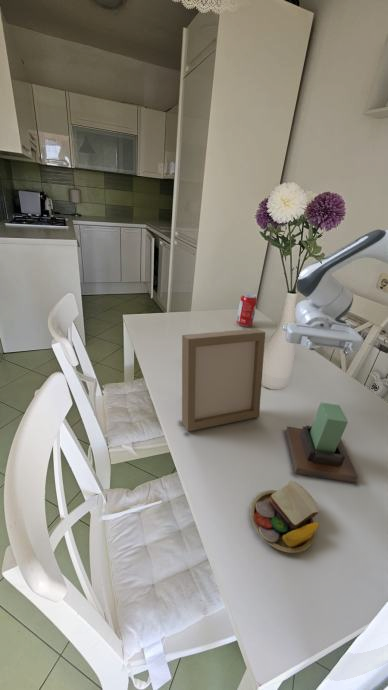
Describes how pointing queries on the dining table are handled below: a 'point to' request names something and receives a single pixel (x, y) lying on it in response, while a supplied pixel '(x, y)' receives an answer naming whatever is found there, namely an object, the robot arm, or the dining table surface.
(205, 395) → the photo frame
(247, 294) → the soda can
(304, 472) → the base
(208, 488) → the dining table surface
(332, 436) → the back pad
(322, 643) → the dining table surface
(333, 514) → the dining table surface
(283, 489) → the toy sandwich meal
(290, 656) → the dining table surface
